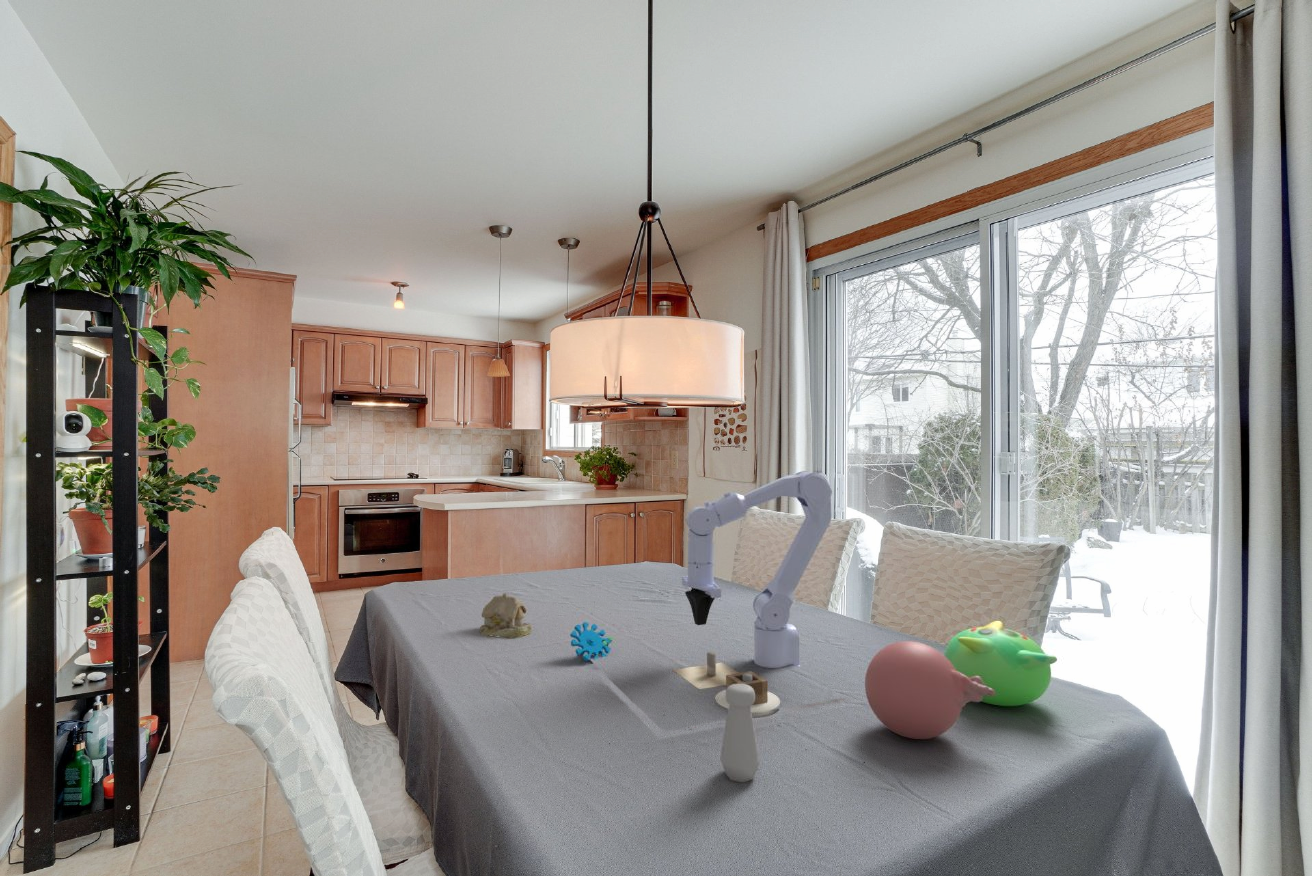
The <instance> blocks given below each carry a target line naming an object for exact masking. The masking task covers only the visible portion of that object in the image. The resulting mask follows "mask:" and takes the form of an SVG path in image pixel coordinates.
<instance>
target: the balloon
mask: <svg viewBox="0 0 1312 876" xmlns="http://www.w3.org/2000/svg"><path fill="white" fill-rule="evenodd" d="M864 678H865V679H864V688H865V689H864V691H865V695H866V699H867V702H868V704H869V706H870V709H871V710H872V712H873V714H874V715H875V716H876V718H877V719H878V720H879V721H880V723H882V724H883V725H884V726H885V727H886V728H888V730H890V731H891V732H893V733H895V734H897V735H899V736H902V737H905V738H908V739H914V740H927V739H933V738H937V737H938V736H941V735H944V734H945V733H946V732H948V731H949V730H950V729H951V728H952V727H953V726H954V725H955V723H956V722H957V721H958V719H959V718H960V715H961V712H962V710H963V707H965V706H966V704H967V703H970V702H973V703H980V702H982V701H981V700H982V698H983V696H984V695H986V696H994V695H995V691H994V690H993V689H992V688H990V687H987V686H985V684H984V683H983V681H982V679H981V677H979V676H973V677H971V678H968V677H967V676H965V675H964V674H962V673H960V672H958V671H956V669H955V668H954V666H953V665H952V663H951V662H950V661H949V660H948V659H947V658H946V657H945V654H943V653H942V652H940V651H939V650H937V649H936V648H934V647H932V646H930V645H929V644H925V643H922V642H918V641H911V640H910V641H909V640H905V641H898V642H894V643H890V644H888V645H885V647H883V648H882V649H880V650H879V651H878V652H877V653H876V654H875V655H874V656H873V658H872V659H871V661H870V662H869V664H868V667H867V669H866V673H865V677H864Z"/></svg>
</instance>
